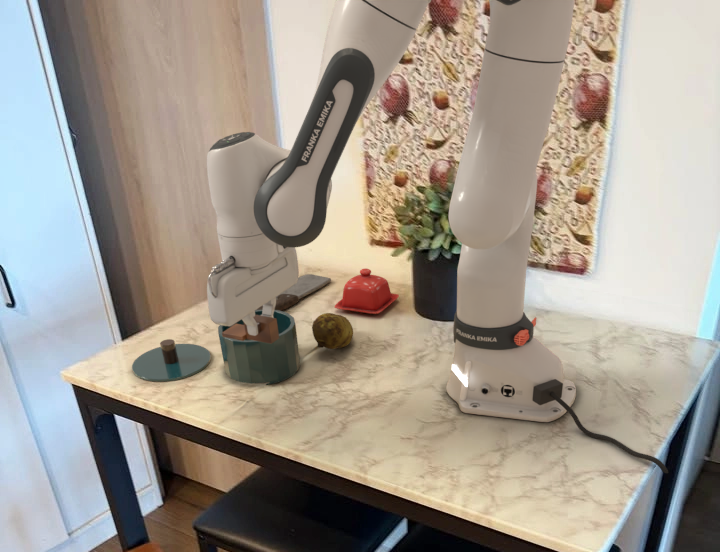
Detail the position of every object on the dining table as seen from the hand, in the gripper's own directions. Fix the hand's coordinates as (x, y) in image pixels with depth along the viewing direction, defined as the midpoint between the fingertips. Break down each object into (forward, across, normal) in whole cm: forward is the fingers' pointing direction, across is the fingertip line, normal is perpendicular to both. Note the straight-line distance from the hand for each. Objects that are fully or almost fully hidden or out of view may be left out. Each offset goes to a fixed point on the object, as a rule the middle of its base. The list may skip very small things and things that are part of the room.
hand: (261, 329), depth 126 cm
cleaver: (+15, +41, +26) cm, 51 cm away
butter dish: (+15, +45, +6) cm, 48 cm away
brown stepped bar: (+2, 0, +2) cm, 3 cm away
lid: (+14, +5, +28) cm, 32 cm away
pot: (+15, +12, +11) cm, 22 cm away
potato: (+15, +25, +2) cm, 29 cm away
